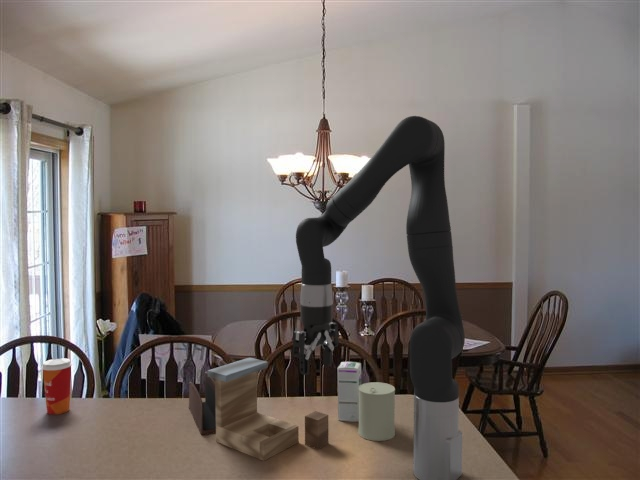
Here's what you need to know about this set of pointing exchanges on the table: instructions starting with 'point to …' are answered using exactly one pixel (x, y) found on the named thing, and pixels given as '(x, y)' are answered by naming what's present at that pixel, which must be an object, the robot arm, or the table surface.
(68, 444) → the table surface
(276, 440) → the socket stand
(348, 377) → the syrup box
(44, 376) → the paper cup
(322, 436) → the peg
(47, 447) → the table surface
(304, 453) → the table surface
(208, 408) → the letter holder
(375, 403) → the can
